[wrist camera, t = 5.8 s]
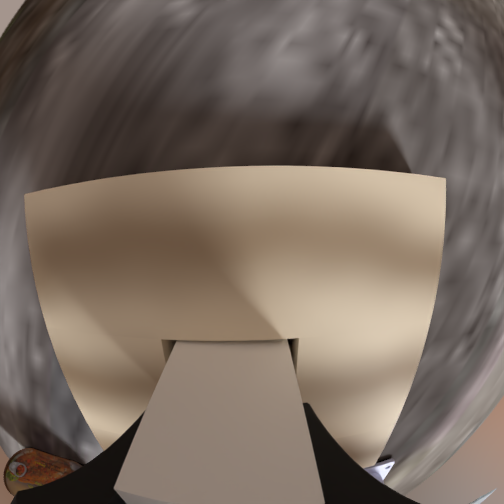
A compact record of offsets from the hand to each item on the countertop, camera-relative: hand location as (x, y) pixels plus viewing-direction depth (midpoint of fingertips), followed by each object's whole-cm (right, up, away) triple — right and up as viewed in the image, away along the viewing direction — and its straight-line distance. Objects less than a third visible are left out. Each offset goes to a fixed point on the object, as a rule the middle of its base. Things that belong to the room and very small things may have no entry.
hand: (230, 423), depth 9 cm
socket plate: (0, +1, +4) cm, 4 cm away
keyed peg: (0, +1, +3) cm, 3 cm away
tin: (-21, -17, +8) cm, 28 cm away
